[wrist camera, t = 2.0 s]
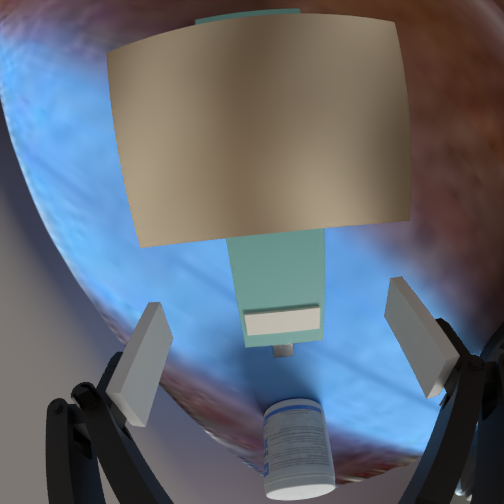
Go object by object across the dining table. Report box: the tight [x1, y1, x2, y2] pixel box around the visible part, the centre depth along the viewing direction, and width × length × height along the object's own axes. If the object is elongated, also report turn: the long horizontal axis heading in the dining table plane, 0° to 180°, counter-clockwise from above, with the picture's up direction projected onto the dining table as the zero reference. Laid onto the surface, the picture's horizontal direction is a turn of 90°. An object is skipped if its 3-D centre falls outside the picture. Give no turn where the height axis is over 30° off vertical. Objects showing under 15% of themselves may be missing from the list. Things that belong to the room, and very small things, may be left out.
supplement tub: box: [264, 398, 335, 500], centre depth 32 cm, size 10×10×15 cm
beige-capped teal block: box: [195, 9, 325, 347], centre depth 18 cm, size 5×19×11 cm, turn 7°
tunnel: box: [107, 14, 411, 248], centre depth 15 cm, size 11×8×15 cm
